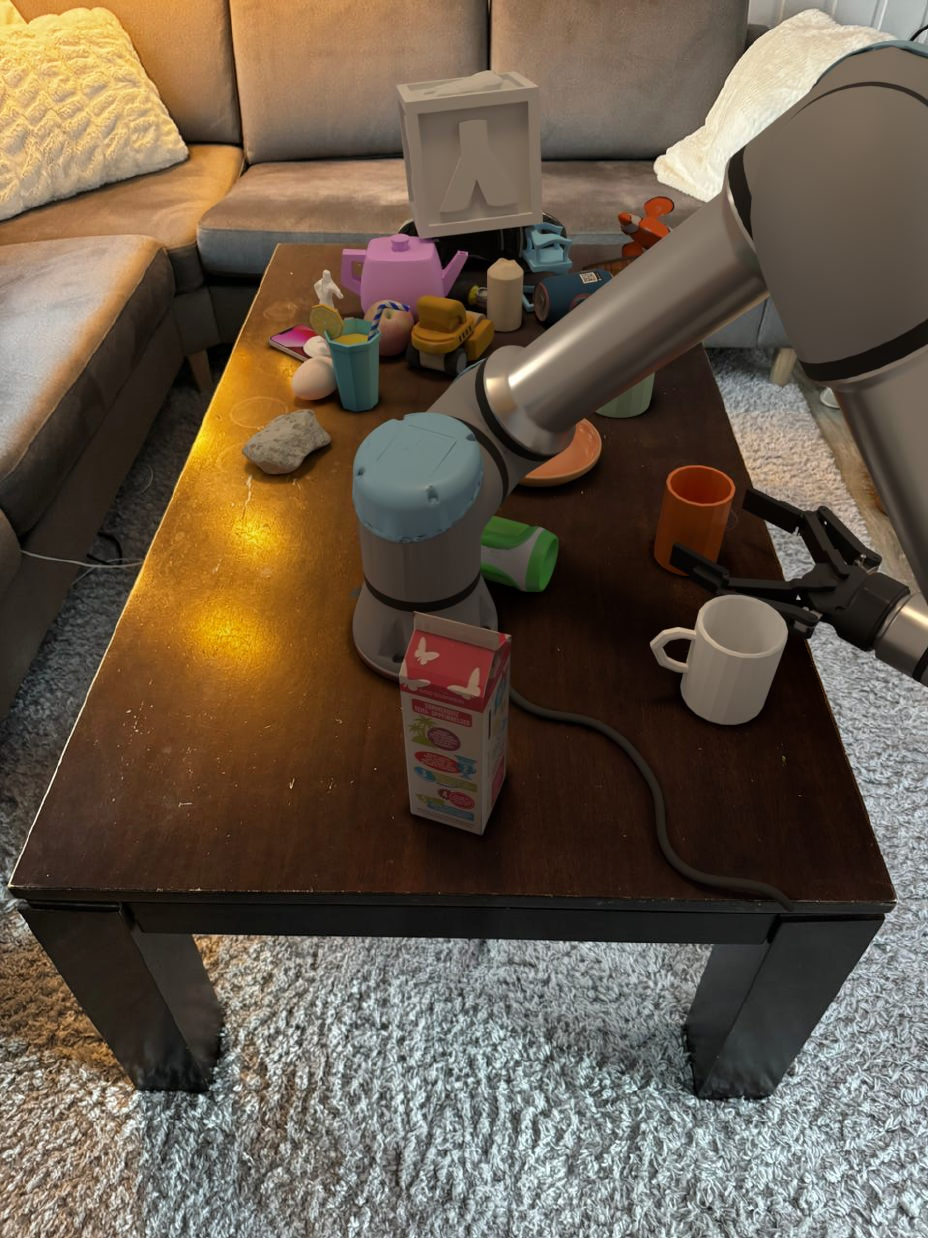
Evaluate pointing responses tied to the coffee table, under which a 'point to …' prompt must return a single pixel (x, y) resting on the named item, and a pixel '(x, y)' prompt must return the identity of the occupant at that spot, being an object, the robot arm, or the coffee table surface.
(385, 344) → the apple
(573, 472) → the saucer
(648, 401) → the green jar
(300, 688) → the coffee table surface
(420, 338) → the toy roller
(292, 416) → the decorative stone
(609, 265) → the croissant
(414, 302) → the teapot
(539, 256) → the phone stand
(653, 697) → the coffee table surface
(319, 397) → the egg
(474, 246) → the running shoe
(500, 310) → the candle
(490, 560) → the speaker
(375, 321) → the cup
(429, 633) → the juice carton
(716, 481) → the orange cup
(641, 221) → the fish
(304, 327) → the smartphone
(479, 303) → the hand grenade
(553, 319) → the soda can
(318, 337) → the figurine
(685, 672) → the mug
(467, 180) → the decorative block
